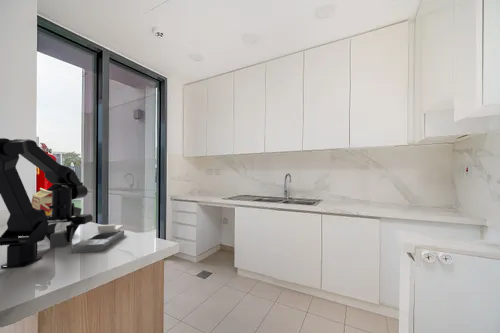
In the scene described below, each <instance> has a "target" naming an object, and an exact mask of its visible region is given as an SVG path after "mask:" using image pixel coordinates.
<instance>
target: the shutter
mask: <svg viewBox="0 0 500 333" xmlns="http://www.w3.org/2000/svg"><path fill="white" fill-rule="evenodd" d="M123 229H124V224H100V225H97V232H98V231H99V232H98V233H108V232H117V231H119V230H123Z"/></svg>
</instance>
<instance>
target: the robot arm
mask: <svg viewBox="0 0 500 333" xmlns="http://www.w3.org/2000/svg"><path fill="white" fill-rule="evenodd" d="M20 156H21V157H22V158H24V159H25V160H26V161H28V162H30V164H32V165H33V166H35V167H36V168H37V169H39V170H40V171H41V172H43V173H44V178H45V179H46V180H47V181H48V182H49V183H50V184H51V186H50V187H48V188H47V189H46V190H47V191H51V192H52V193H51V194H52V205H50V206H49V208H52V214H51V216H50V215H46V213H45V211H44V210H43V209H34V208H33V206H32V204H31V200H30V197H29V195H28V192H27V190H26V188H25V185H24V183H23V181H22V179H21V176H20V174H19V172H18V169H17V164H18V162H19V159H20ZM88 191H89V190H88V188H87V187H86V186H85V185H84V182H81V181H80V179H79V177H78V175H77V174H76V171H75V169H72V168H70V167H68V165H67V166H66V165H63V164H61V163H58V162H57V161H56V160H55V159H54V158H53V157H52V156H50V155H49V154H48V153H47V152H46V151H45V150H43V149H42V148H41V147H40V146H38V144H37V142H36V141H35V140H33V139H30V138H29V139H27V138H26V139H25V138H15V139H9V138H5V137H4V138H3V137H0V196H1V199H2V201H3V203H4V205H5V207H6V209H7V210H8V213H9V216H8V220H7V221H6V226H7V229H5V231H4V232H3V233H2V234H1V236H0V246H1V247H2V246H7V247H6V263H4V264H2V265H0V267H3V266H10V267H9V268H18V267H27V266H29V265H30V264H32V263H34V262H37V261H38V260H40V259H42V258H43V255H38V246H39V245H38V243H39V242H41V241H44V240H45V237H46V238H47V240H48V241H49V242H50V234H52V233H54V232H55V227H56V225H57V223H56V222H70V225H68V226H66V230H67V240H68V242H71V241H72V242H73V238H74V236H75V233H76V231H77V229H78V228H79V227H80V226H81V225H87V224H88V223H90V222H93V220H94V218H93V215H92V214H91V213H87V214H86V213H85V214H84V213H82V208H81V207H77V206H75V203H74V202H73V201H72V200H77V199H83V198H85V197H86V196H88V193H89V192H88ZM81 213H82V214H81ZM72 216H74V217H72Z"/></svg>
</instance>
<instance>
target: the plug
mask: <svg viewBox="0 0 500 333" xmlns="http://www.w3.org/2000/svg"><path fill="white" fill-rule="evenodd" d="M72 243H73V240H72V241H71V242H68V240H67V230H59V231H57V232H54V233H52V234H50V241H49V248H50V249H51V248H52V249H53V248H65V247H67V246H68V245H71V244H72Z"/></svg>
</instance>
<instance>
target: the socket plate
mask: <svg viewBox="0 0 500 333" xmlns="http://www.w3.org/2000/svg"><path fill="white" fill-rule="evenodd" d="M98 232H99V231H98V230H97V232H95V233H94V234H93V233H92V234H91V235H90V236H87V237H86V238H83V239H82V240H80V241H79V242H76V243H75V244H73V245H71V253H72V254H75V253H95V252H105V251H106V250H108V249H109V248H111V247H112V246H113V245H114V244H115V243H117V242H118V241H120V239H122V238H123V237H124V236H125V230H124V229H121V230H119V231H117V232H108V233H98Z"/></svg>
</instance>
